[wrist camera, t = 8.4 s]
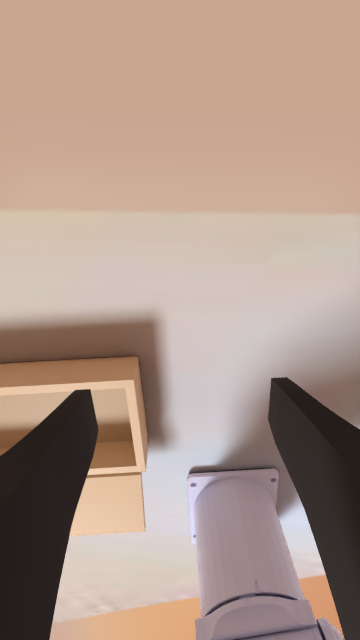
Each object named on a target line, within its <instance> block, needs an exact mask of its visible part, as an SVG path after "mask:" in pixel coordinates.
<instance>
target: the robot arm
mask: <svg viewBox="0 0 360 640" xmlns="http://www.w3.org/2000/svg"><path fill="white" fill-rule="evenodd" d="M268 420H269V423H270V427H271V430H272V434H273V437H274V440H275V443H276V445H277V448H278V450H279V452H280V454H281V457H282V459H283V461H284V463H285V466H286V468H287V470H288V472H289V475H290V477H291V479H292V481H293V483H294V486H295V488H296V490H297V492H298V494H299V497H300V499H301V502H302V504H303V507H304V509H305V512H306V515H307V518H308V521H309V524H310V527H311V530H312V533H313V536H314V539H315V542H316V545H317V548H318V551H319V554H320V557H321V560H322V563H323V567H324V570H325V573H326V576H327V580H328V583H329V586H330V589H331V593H332V596H333V599H334V603H335V606H336V610H337V613H338V616H339V620H340V624H341V627H342V631H343V635H344V638H345V640H360V429H358V428H356V427H355V426H353V425H352V424H350V423H349V422H347V421H346V420H344V419H343V418H341V417H339V416H338V415H336V414H335V413H334V412H332V411H331V410H329V409H328V408H327V407H325V406H324V405H322V404H321V403H320V402H318V401H317V400H316V399H314V398H313V397H312V396H310V395H309V394H308V393H307V392H305V391H304V390H303V389H301V388H300V387H299V386H298V385H296V384H295V383H294V382H292V381H291V380H290V379H288V378H287V377H285V378H271V391H270V403H269V416H268ZM98 430H99V429H98V424H97V419H96V414H95V409H94V404H93V399H92V395H91V390H90V389H83V390H75V391H73V392H72V393H71V394H70V395H69V396H68V397H67V398H66V399H65V400H64V401H63V402H62V403H61V404H60V405H59V406H58V407H57V408H56V409H55V410H54V411H52V412H51V413H50V414H49V415H48V416H47V417H46V418H45V419H44V420H43V421H42V422H41V423H40V424H39V425H37V426H36V427H35V428H34V429H33V430H32V431H30V432H29V433H28V434H27V435H26V436H25V437H24V438H22V439H21V440H20V441H19V442H18V443H16V444H15V445H14V446H13V447H11V448H10V449H9V450H8V451H6V452H5V453H4V454H2V455H1V456H0V640H49V638H50V632H51V626H52V621H53V615H54V610H55V604H56V599H57V593H58V588H59V583H60V578H61V573H62V568H63V563H64V558H65V553H66V549H67V544H68V540H69V535H70V531H71V526H72V522H73V519H74V515H75V512H76V508H77V505H78V502H79V499H80V496H81V493H82V490H83V487H84V484H85V481H86V477H87V474H88V471H89V468H90V465H91V462H92V459H93V455H94V451H95V446H96V441H97V435H98ZM187 481H188V498H189V514H190V531H191V543H192V544H193V545H195V546H196V550H197V564H198V578H199V592H200V607H201V618H198V619H196V620H195V627H196V640H344V639H343V637H342V635H341V633H340V632H339V630H338V629H337V628H335V627H334V626H333V625H332V624H330V623H329V622H328V620H327V619H326V618H320V619H317V620H316V621H317V623H316V621H315V617H314V615H313V611H312V608H311V605H310V602H309V600H305V598H304V595H303V592H302V589H301V586H300V583H299V580H298V577H297V574H296V571H295V568H294V564H293V561H292V558H291V555H290V552H289V549H288V546H287V543H286V540H285V537H284V534H283V531H282V528H281V524H280V521H279V518H278V515H277V512H276V501H277V492H278V483H279V472H278V470H277V469H257V470H241V471H224V472H208V473H192V474H190V475H188V477H187Z"/></svg>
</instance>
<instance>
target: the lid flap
mask: <svg viewBox="0 0 360 640" xmlns="http://www.w3.org/2000/svg"><path fill="white" fill-rule="evenodd" d="M129 532H145V514H144V501H143V487H142V474H141V472H130V473H113V474H97V475H87V477H86V481H85V484H84V487H83V490H82V493H81V496H80V499H79V502H78V505H77V508H76V512H75V515H74V519H73V522H72V526H71V531H70V535H69V536H80V535H97V534H113V533H129Z"/></svg>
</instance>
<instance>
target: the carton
mask: <svg viewBox="0 0 360 640" xmlns="http://www.w3.org/2000/svg"><path fill="white" fill-rule="evenodd" d="M83 389H90V390H91V395H92V399H93V404H94V409H95V414H96V419H97V424H98V429H99V430H98V435H97V441H96V446H95V451H94V455H93V459H92V462H91V465H90V468H89V471H88V474H87V475H97V474H113V473H130V472H146V463H147V452H148V432H147V424H146V416H145V408H144V399H143V391H142V383H141V375H140V366H139V358H138V356H126V357H109V358H92V359H75V360H58V361H41V362H24V363H7V364H0V456H1V455H2V454H4V453H5V452H6V451H8V450H9V449H10V448H11V447H13V446H14V445H15V444H16V443H18V442H19V441H20V440H21V439H22V438H24V437H25V436H26V435H27V434H28V433H29V432H30V431H32V430H33V429H34V428H35V427H36V426H37V425H39V424H40V423H41V422H42V421H43V420H44V419H45V418H46V417H47V416H48V415H49V414H50V413H51V412H52V411H54V410H55V409H56V408H57V407H58V406H59V405H60V404H61V403H62V402H63V401H64V400H65V399H66V398H67V397H68V396H69V395H70V394H71V393H72V392H73V391H75V390H83Z"/></svg>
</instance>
